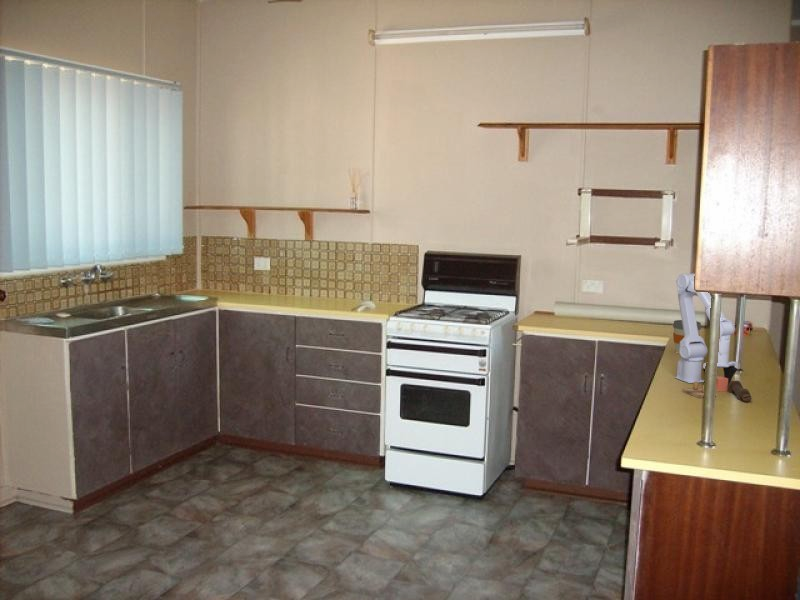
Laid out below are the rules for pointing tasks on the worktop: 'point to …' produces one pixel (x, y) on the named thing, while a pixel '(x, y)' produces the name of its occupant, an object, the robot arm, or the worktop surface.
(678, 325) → the reusable coffee cup
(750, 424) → the worktop surface
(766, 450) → the worktop surface
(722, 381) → the salmon cube
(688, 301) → the robot arm
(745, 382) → the worktop surface
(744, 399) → the bolt
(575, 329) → the worktop surface
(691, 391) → the stub block
